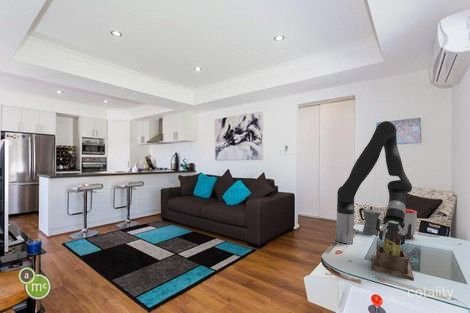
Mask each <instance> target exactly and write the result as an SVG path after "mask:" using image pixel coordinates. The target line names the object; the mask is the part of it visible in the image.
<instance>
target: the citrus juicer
mask: <svg viewBox="0 0 470 313" xmlns="http://www.w3.org/2000/svg"><path fill="white" fill-rule="evenodd" d="M417 215H418V211H417V210H414V209H411V208H410V209H409V208H406V207H405V218H404V224H407V225H409V224H411V225H412V232H411V238H410V239H412V238H413V237H414V236H415V233H416V229H417V221H418V220H417ZM403 231H404V233H405V234H407V232H408V230H407V229H406V227H404V228H403ZM398 234H399V236H400V238H401V234H400V233H399V232H398Z"/></svg>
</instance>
